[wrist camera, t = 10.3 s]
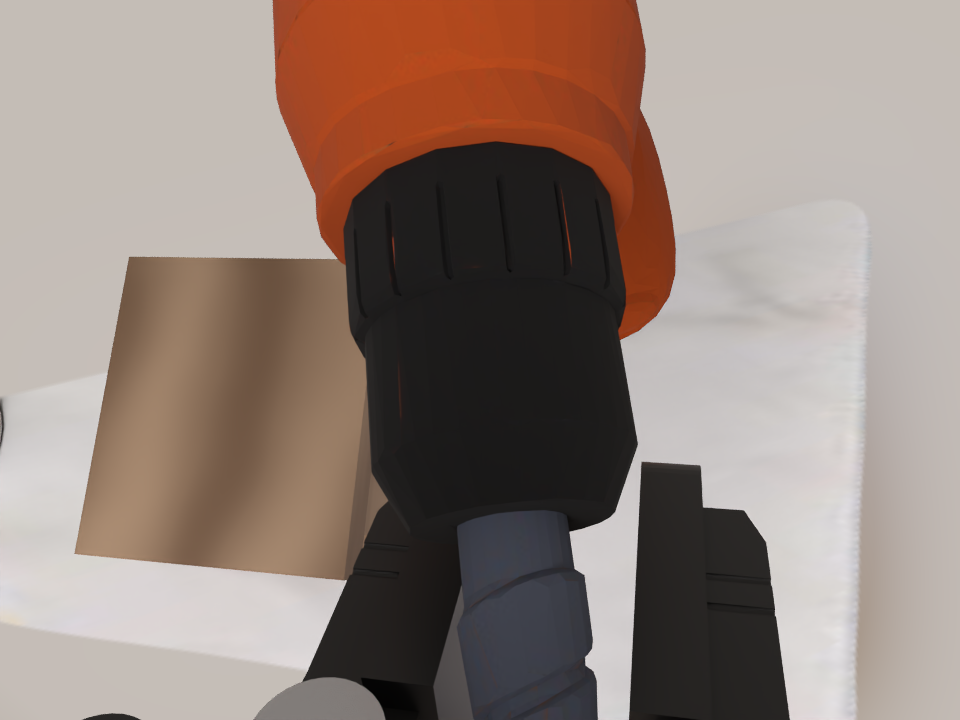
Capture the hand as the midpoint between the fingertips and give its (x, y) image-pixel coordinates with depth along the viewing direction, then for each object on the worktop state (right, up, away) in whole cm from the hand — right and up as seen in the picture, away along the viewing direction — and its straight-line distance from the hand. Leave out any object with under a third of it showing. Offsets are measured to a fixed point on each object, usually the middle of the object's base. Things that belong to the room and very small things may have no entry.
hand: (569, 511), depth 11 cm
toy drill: (+2, +2, +10) cm, 10 cm away
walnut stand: (-6, -5, +39) cm, 40 cm away
